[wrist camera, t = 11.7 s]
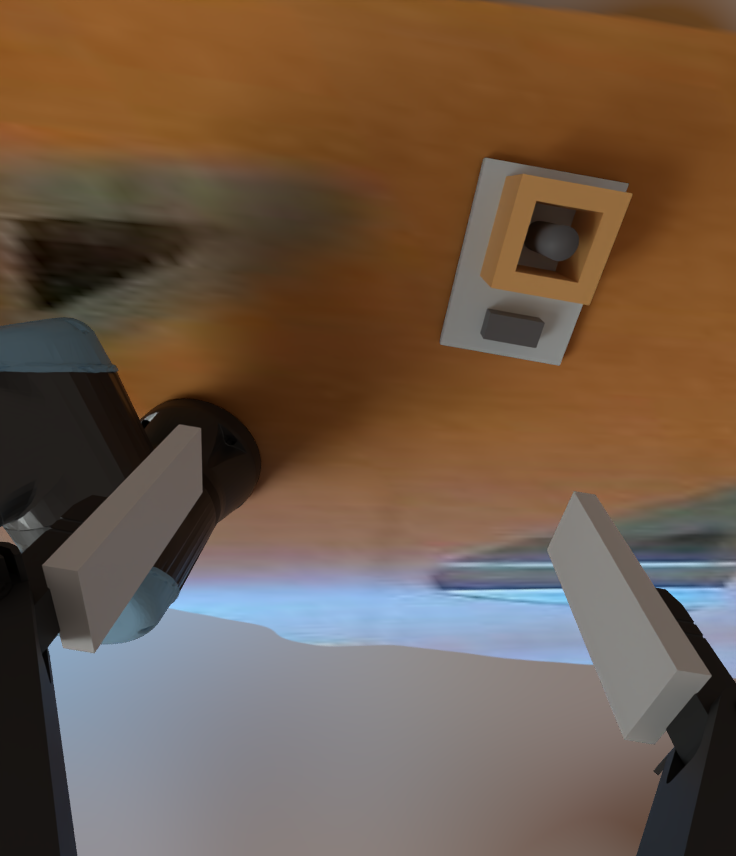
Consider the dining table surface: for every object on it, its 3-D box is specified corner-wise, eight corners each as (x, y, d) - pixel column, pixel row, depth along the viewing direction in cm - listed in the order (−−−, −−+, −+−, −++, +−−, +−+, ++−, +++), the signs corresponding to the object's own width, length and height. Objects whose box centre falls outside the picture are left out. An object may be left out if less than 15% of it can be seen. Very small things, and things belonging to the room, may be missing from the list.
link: (479, 275, 41) (490, 287, 36) (506, 176, 37) (522, 173, 32) (565, 291, 41) (589, 305, 36) (600, 193, 37) (632, 193, 32)
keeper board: (439, 341, 45) (445, 369, 38) (483, 158, 38) (501, 150, 30) (555, 361, 45) (584, 393, 38) (622, 183, 38) (674, 181, 31)
